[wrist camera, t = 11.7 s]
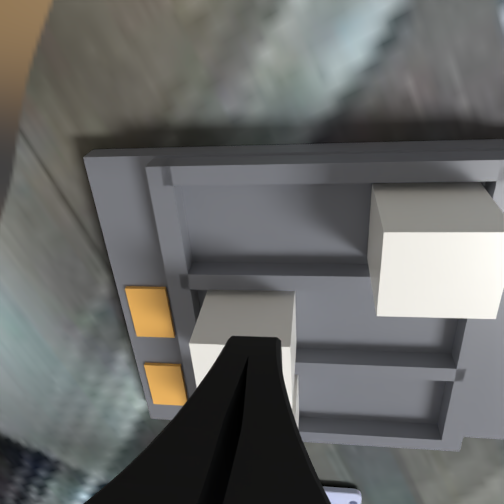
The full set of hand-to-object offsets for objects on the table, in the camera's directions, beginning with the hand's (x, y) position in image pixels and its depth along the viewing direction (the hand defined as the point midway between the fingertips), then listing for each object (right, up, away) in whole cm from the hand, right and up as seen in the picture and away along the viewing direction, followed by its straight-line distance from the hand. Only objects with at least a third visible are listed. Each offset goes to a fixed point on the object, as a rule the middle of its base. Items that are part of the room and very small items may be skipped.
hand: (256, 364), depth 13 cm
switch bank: (+4, +1, +10) cm, 11 cm away
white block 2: (+7, +4, +6) cm, 10 cm away
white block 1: (0, 0, +10) cm, 10 cm away
